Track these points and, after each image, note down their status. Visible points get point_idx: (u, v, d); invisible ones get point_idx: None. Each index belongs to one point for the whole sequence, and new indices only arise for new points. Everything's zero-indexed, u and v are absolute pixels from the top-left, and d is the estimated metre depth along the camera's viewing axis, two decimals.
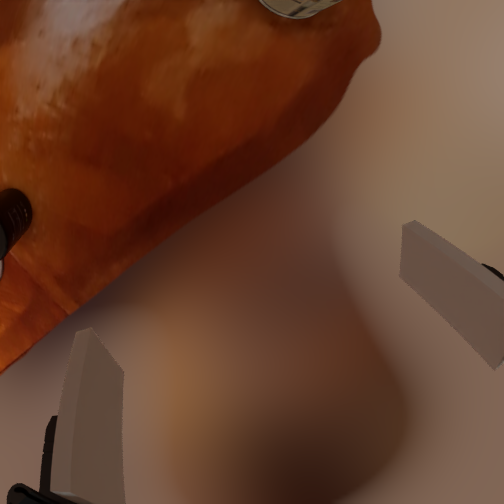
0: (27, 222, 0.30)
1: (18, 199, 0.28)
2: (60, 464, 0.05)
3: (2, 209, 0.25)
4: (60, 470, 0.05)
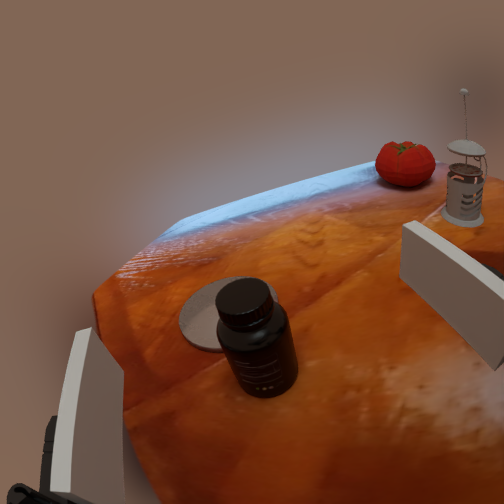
0: (254, 389, 0.28)
1: (286, 378, 0.28)
2: (60, 464, 0.05)
3: (281, 352, 0.26)
4: (60, 470, 0.05)
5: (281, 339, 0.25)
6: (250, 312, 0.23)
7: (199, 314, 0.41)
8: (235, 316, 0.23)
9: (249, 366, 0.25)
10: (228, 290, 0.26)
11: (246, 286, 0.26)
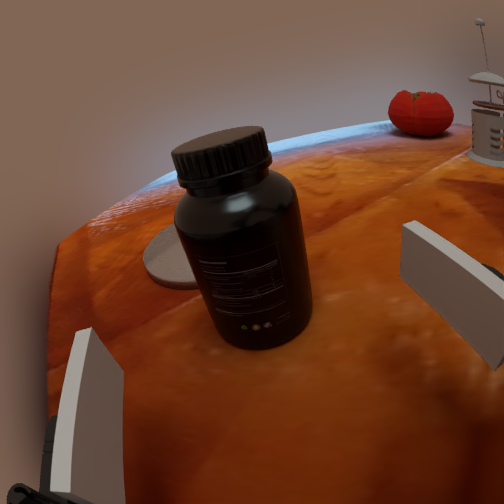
0: (237, 329, 0.17)
1: (294, 309, 0.17)
2: (60, 464, 0.05)
3: (286, 247, 0.15)
4: (60, 470, 0.05)
5: (285, 214, 0.14)
6: (228, 147, 0.12)
7: (171, 245, 0.30)
8: (200, 155, 0.12)
9: (226, 270, 0.14)
10: (196, 140, 0.15)
11: (226, 132, 0.15)
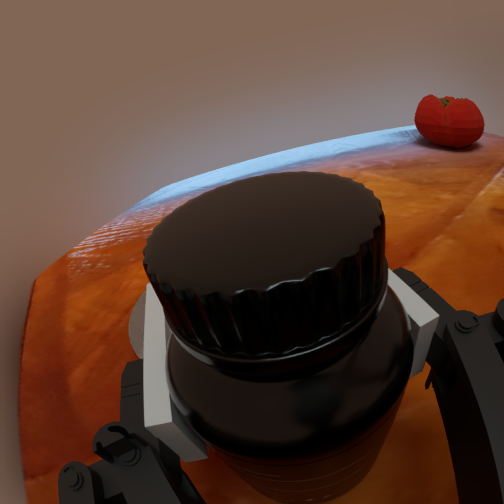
0: (280, 499, 0.08)
1: (366, 471, 0.08)
2: (155, 397, 0.07)
3: (387, 429, 0.06)
4: (156, 402, 0.07)
5: (404, 390, 0.06)
6: (316, 284, 0.04)
7: None
8: (227, 305, 0.04)
9: (279, 479, 0.06)
10: (204, 206, 0.07)
11: (274, 189, 0.07)
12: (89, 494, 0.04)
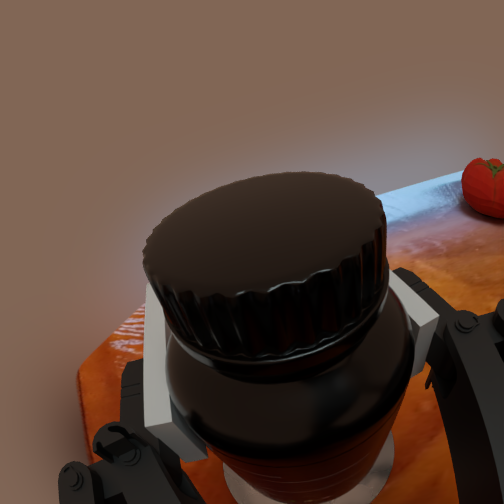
0: (280, 499, 0.08)
1: (367, 471, 0.08)
2: (155, 397, 0.07)
3: (388, 430, 0.06)
4: (156, 403, 0.07)
5: (404, 391, 0.06)
6: (316, 285, 0.04)
7: None
8: (227, 306, 0.04)
9: (279, 480, 0.06)
10: (204, 206, 0.07)
11: (275, 189, 0.07)
12: (89, 494, 0.04)
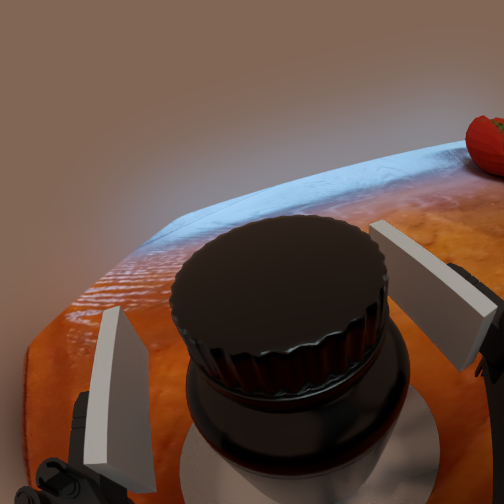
0: (287, 503, 0.09)
1: (366, 477, 0.09)
2: (94, 435, 0.06)
3: (384, 443, 0.07)
4: (95, 441, 0.06)
5: (399, 413, 0.06)
6: (328, 343, 0.05)
7: (234, 470, 0.12)
8: (253, 363, 0.05)
9: (288, 489, 0.07)
10: (222, 253, 0.07)
11: (288, 238, 0.07)
12: None
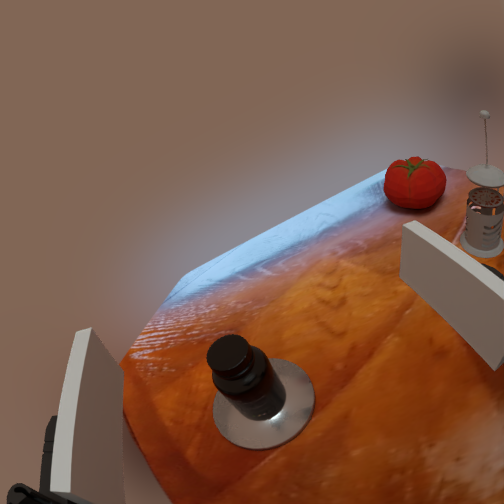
0: (251, 416, 0.33)
1: (276, 405, 0.33)
2: (60, 464, 0.05)
3: (267, 389, 0.31)
4: (60, 470, 0.05)
5: (264, 380, 0.30)
6: (235, 367, 0.28)
7: (234, 411, 0.36)
8: (223, 371, 0.28)
9: (242, 403, 0.30)
10: (216, 348, 0.31)
11: (229, 343, 0.31)
12: None
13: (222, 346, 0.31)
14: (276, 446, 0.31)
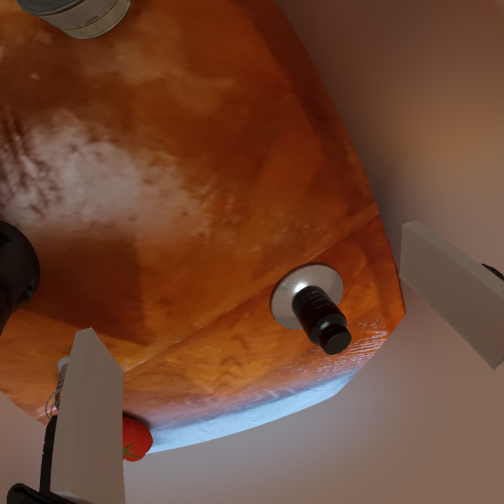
0: (321, 291, 0.50)
1: (304, 297, 0.50)
2: (60, 464, 0.05)
3: (313, 313, 0.46)
4: (60, 470, 0.05)
5: (315, 320, 0.45)
6: (336, 333, 0.42)
7: (328, 294, 0.54)
8: (343, 331, 0.42)
9: (330, 305, 0.47)
10: (343, 346, 0.44)
11: (334, 349, 0.43)
12: None
13: (339, 347, 0.44)
14: (307, 265, 0.51)
